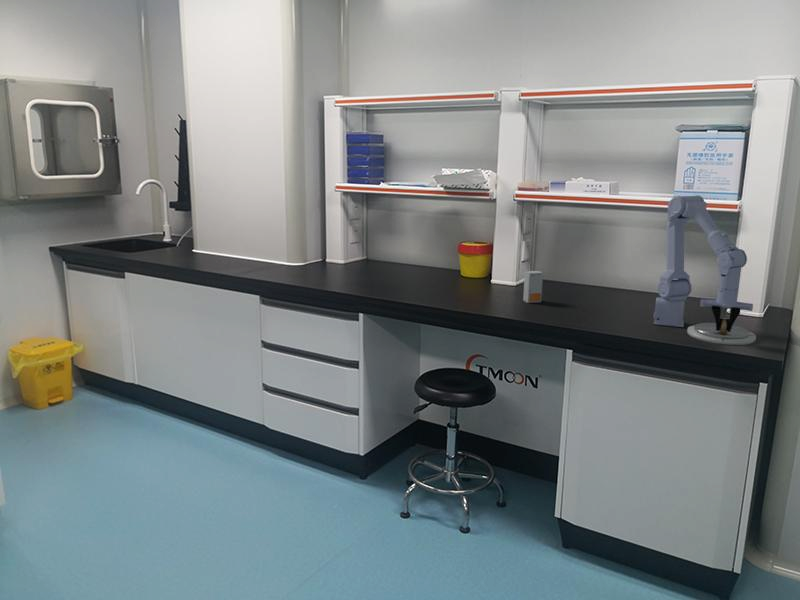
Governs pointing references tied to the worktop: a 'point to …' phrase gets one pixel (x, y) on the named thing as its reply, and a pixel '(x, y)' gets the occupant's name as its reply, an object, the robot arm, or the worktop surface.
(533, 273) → the skincare box
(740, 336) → the dial
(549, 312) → the worktop surface
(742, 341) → the dial plate
